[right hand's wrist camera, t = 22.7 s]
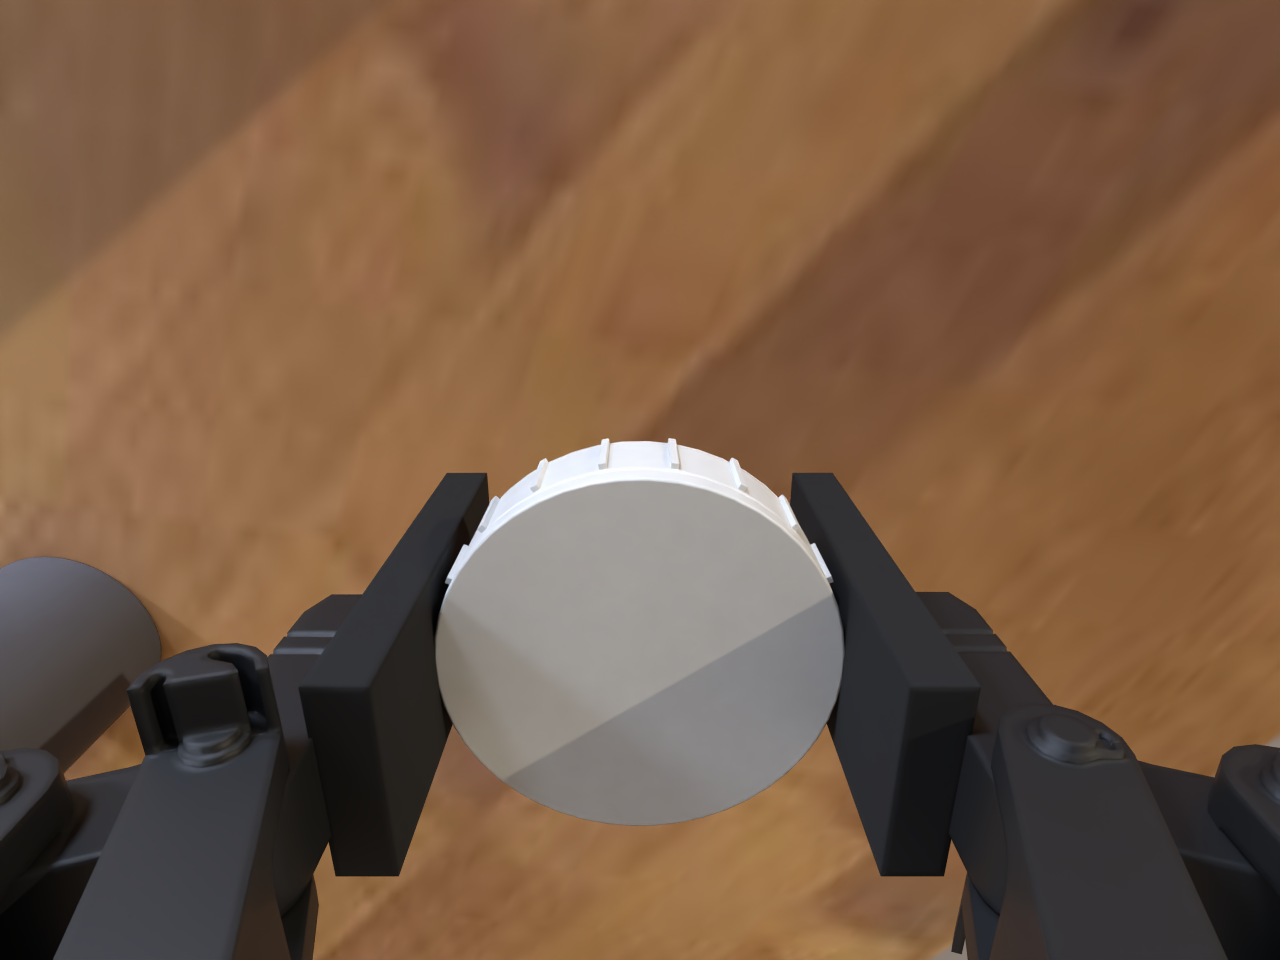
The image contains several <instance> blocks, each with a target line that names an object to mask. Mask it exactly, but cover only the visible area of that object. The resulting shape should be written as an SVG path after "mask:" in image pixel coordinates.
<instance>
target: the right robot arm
mask: <svg viewBox="0 0 1280 960" xmlns="http://www.w3.org/2000/svg"><path fill="white" fill-rule="evenodd" d="M488 506H489V494H488V481H487V473H447V474H446V475H445V477H444V478H443V479H442V481H441V482H440V484H439V485H438V487H437V488H436V489H435V491H434V492H433V494H432V495H431V497H430V498H429V500H428V501H427V502H426V504H425V505H424V507H423V508H422V510H421V511H420V513H419V514H418V515H417V517H416V518H415V520H414V521H413V523H412V524H411V525H410V527H409V528H408V530H407V531H406V533H405V534H404V536H403V537H402V538H401V540H400V541H399V543H398V544H397V546H396V547H395V549H394V550H393V551H392V553H391V554H390V556H389V557H388V559H387V560H386V561H385V563H384V564H383V566H382V567H381V569H380V570H379V572H378V573H377V574H376V576H375V577H374V579H373V580H372V582H371V583H370V584H369V586H368V587H367V589H366V590H365V592H364V593H363V595H330V596H329V597H327V598H325V599H324V600H322V601H321V602H319V603H318V604H316V605H314V606H313V607H311V608H310V609H308V610H307V611H305V612H304V613H303V614H302V615H301V617H300V618H299V619H298V620H297V621H296V623H295V624H294V625H293V626H292V628H291V629H290V630H289V631H288V633H287V637H284V638H283V639H282V640H281V641H280V643H279V644H278V645H277V646H276V648H275V649H274V653H273V654H270V655H269V656H268V657H267V655H265V654H264V653H263V652H262V651H260V650H259V649H258V648H256V647H253V646H248V645H243V644H238V643H232V644H214V645H209V646H205V647H200V648H196V649H192V650H188V651H185V652H182V653H180V654H177V655H175V656H173V657H170V658H168V659H165V660H163V661H161V662H159V663H158V664H156V665H154V666H153V667H151V668H150V669H148V670H147V671H145V672H144V673H142V674H141V675H139V676H138V677H137V679H136V680H135V681H134V682H133V683H132V684H131V685H130V687H129V688H128V689H127V690H126V691H127V695H128V698H129V701H130V705H131V708H132V711H133V715H134V718H135V722H136V725H137V728H138V732H139V735H140V738H141V742H142V745H143V748H144V752H145V758H144V760H143V762H142V764H140V765H136V766H132V767H129V768H124V769H120V770H115V771H110V772H106V773H101V774H96V775H91V776H87V777H82V778H77V779H73V780H68V781H66V780H65V777H64V774H63V771H62V768H61V766H60V763H59V760H58V758H56V757H55V756H54V755H52V754H51V753H49V752H48V751H47V750H40V749H31V748H21V749H14V750H7V751H1V752H0V960H312V959H313V950H314V942H315V933H316V924H317V915H318V906H319V904H318V897H317V890H316V885H315V880H314V876H313V873H314V871H315V869H316V867H317V865H318V863H319V861H320V859H321V856H322V854H323V852H324V850H325V848H326V846H327V844H328V842H329V845H330V850H331V855H332V860H333V866H334V871H335V876H399V874H400V871H401V868H402V865H403V863H404V860H405V857H406V854H407V851H408V848H409V846H410V843H411V840H412V837H413V834H414V832H415V829H416V826H417V823H418V820H419V817H420V815H421V812H422V809H423V806H424V803H425V800H426V798H427V795H428V792H429V789H430V786H431V783H432V781H433V778H434V775H435V772H436V769H437V767H438V764H439V761H440V758H441V755H442V752H443V750H444V747H445V744H446V741H447V738H448V735H449V733H450V730H451V727H452V724H453V723H452V721H451V719H450V717H449V715H448V712H447V710H446V708H445V706H444V703H443V699H442V696H441V693H440V689H439V684H438V676H437V667H436V658H435V632H436V627H437V621H438V615H439V612H440V609H441V606H442V603H443V600H444V597H445V594H446V591H447V589H448V587H449V584H446V583H445V581H446V579H447V576H448V574H449V572H450V571H451V569H452V567H453V565H454V563H455V561H456V559H457V557H458V555H459V553H460V551H461V549H462V547H463V545H464V544H465V545H467V546H469V544H470V542H471V540H472V538H473V537H474V535H475V533H476V531H477V529H478V527H479V525H480V523H481V520H482V518H483V516H484V514H485V512H486V510H487V508H488ZM790 507H791V509H792V511H793V513H794V515H795V517H796V519H797V521H798V523H799V525H800V527H801V529H802V530H803V532H804V534H805V536H806V537H807V539H808V541H809V543H810V545H811V544H813V543H815V544H816V546H817V548H818V550H819V552H820V554H821V556H822V558H823V560H824V562H825V564H826V566H827V568H828V570H829V572H830V574H831V576H832V579H833V582H832V583H829V584H830V587H831V589H832V592H833V594H834V597H835V600H836V602H837V605H838V607H839V612H840V616H841V621H842V625H843V630H844V644H845V653H844V663H843V671H842V680H841V686H840V690H839V694H838V698H837V701H836V703H835V705H834V708H833V710H832V713H831V715H830V718H829V720H828V722H827V725H828V728H829V731H830V734H831V737H832V740H833V742H834V745H835V748H836V751H837V754H838V757H839V759H840V762H841V765H842V768H843V771H844V773H845V776H846V779H847V782H848V785H849V788H850V790H851V793H852V796H853V799H854V802H855V805H856V807H857V810H858V813H859V816H860V819H861V822H862V824H863V827H864V830H865V833H866V836H867V838H868V841H869V844H870V847H871V850H872V853H873V855H874V858H875V861H876V864H877V867H878V870H879V872H880V875H881V876H944V873H945V868H946V863H947V858H948V853H949V848H950V843H951V839H952V841H953V843H954V845H955V847H956V849H957V852H958V854H959V856H960V858H961V860H962V862H963V864H964V866H965V868H966V870H967V876H966V880H965V885H964V890H963V894H962V899H961V904H960V909H959V913H958V918H957V923H956V927H955V932H954V938H953V944H952V952H955V953H959V954H962V950H963V946H964V941H965V940H966V948H967V957H968V960H1280V748H1276V747H1269V746H1263V745H1256V744H1255V745H1246V746H1237V747H1233V748H1232V749H1230V750H1229V751H1228V752H1226V753H1225V754H1224V755H1222V758H1221V761H1220V764H1219V767H1218V769H1217V772H1216V775H1215V778H1214V777H1209V776H1204V775H1199V774H1195V773H1190V772H1185V771H1180V770H1176V769H1171V768H1166V767H1161V766H1157V765H1152V764H1149V763H1145V762H1141V761H1138V760H1137V759H1136V756H1135V754H1134V753H1133V752H1132V750H1131V749H1130V748H1129V746H1128V745H1127V744H1126V742H1125V741H1124V739H1123V738H1122V737H1120V736H1119V735H1118V734H1116V733H1115V732H1114V731H1112V730H1111V729H1110V728H1108V727H1107V726H1106V725H1104V724H1103V723H1101V722H1099V721H1097V720H1095V719H1093V718H1091V717H1089V716H1087V715H1085V714H1082V713H1080V712H1078V711H1075V710H1071V709H1067V708H1064V707H1060V706H1056V705H1053V704H1052V703H1051V702H1050V700H1049V699H1048V698H1047V697H1046V695H1045V694H1044V693H1043V692H1042V690H1041V689H1040V688H1039V687H1038V686H1037V684H1036V683H1035V682H1034V681H1033V679H1032V678H1031V677H1030V676H1029V674H1028V673H1027V672H1026V671H1025V670H1024V668H1023V667H1022V666H1021V665H1020V663H1019V662H1018V661H1017V660H1016V658H1015V657H1014V656H1013V655H1012V654H1011V652H1007V650H1006V646H1005V645H1004V644H1003V642H1002V641H1001V640H1000V639H999V637H998V636H997V635H996V634H993V630H992V629H991V628H990V626H989V625H988V624H987V623H986V621H985V620H984V619H983V618H982V617H981V615H980V614H979V613H978V612H977V610H976V609H974V608H972V607H971V606H969V605H968V604H966V603H965V602H963V601H961V600H960V599H958V598H957V597H955V596H954V595H952V594H950V593H949V592H915V591H914V590H913V588H912V587H911V585H910V584H909V582H908V581H907V579H906V578H905V577H904V575H903V574H902V572H901V571H900V569H899V568H898V566H897V565H896V564H895V562H894V561H893V559H892V558H891V556H890V555H889V554H888V552H887V551H886V549H885V548H884V546H883V545H882V543H881V542H880V541H879V539H878V538H877V536H876V535H875V533H874V532H873V530H872V529H871V528H870V526H869V525H868V523H867V522H866V520H865V519H864V518H863V516H862V515H861V513H860V512H859V510H858V509H857V507H856V506H855V505H854V503H853V502H852V500H851V499H850V497H849V496H848V494H847V493H846V492H845V490H844V489H843V487H842V486H841V484H840V483H839V482H838V480H837V479H836V477H835V476H834V474H833V473H793V475H792V488H791V500H790Z"/></svg>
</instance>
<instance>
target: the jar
mask: <svg viewBox="0 0 1280 960" xmlns="http://www.w3.org/2000/svg"><path fill="white" fill-rule="evenodd" d="M160 660H161V644H160V638H159V635H158V632H157V629H156V626H155V624H154V622H153V620H152V618H151V616H150V615H149V613H148V611H147V610H146V608H145V607H144V606H143V605H142V603H141V602H140V601H139V600H138V599H137V598H136V597H135V596H134V595H133V594H132V593H131V592H130V591H129V590H128V589H127V588H126V587H125V586H123V585H122V584H121V583H120V582H118V581H117V580H115V579H114V578H112V577H111V576H109V575H107V574H105V573H103V572H102V571H100V570H98V569H96V568H93V567H91V566H88V565H86V564H83V563H80V562H76V561H73V560H68V559H63V558H54V557H35V558H28V559H22V560H19V561H16V562H13V563H11V564H8V565H6V566H4V567H2V568H1V569H0V752H1V751H7V750H14V749H21V748H31V749H40V750H47V751H48V752H49V753H51V754H52V755H54V756H55V757H56V758H58V760H59V763H60V766H61V768H62V771H63V774H64V773H65V772H66V771H67V770H68V769H69V768H70V767H71V766H72V764H73V763H74V762H75V761H76V760H77V759H78V758H79V757H80V756H81V755H82V754H83V753H84V752H85V751H86V750H87V749H88V748H89V747H90V746H91V745H92V744H93V743H94V742H95V741H96V740H97V739H98V738H99V737H100V736H101V735H102V734H103V733H104V732H105V731H106V730H107V729H108V728H109V727H110V726H111V725H112V724H113V723H114V722H115V721H116V720H117V719H118V718H119V717H120V716H121V715H122V714H123V713H124V711H125V710H126V709H127V708H128V707H129V706H130V701H129V698H128V695H127V691H126V690H127V689H128V688H129V687H130V685H131V684H132V683H133V682H134V681H135V680H136V679H137V677H138V676H139V675H141V674H142V673H144V672H145V671H147V670H148V669H150V668H151V667H153V666H154V665H156V664H158V663H159V662H160Z"/></svg>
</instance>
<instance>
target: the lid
mask: <svg viewBox="0 0 1280 960" xmlns="http://www.w3.org/2000/svg"><path fill="white" fill-rule="evenodd" d="M832 582H833V579H832V576H831V574H830V572H829V570H828V568H827V566H826V564H825V562H824V560H823V558H822V556H821V554H820V552H819V550H818V548H817V546H816V544H815V543H813V544H811V545H810V543H809V541H808V539H807V537H806V536H805V534H804V532H803V530H802V529H801V527H800V525H799V523H798V521H797V519H796V517H795V515H794V513H793V511H792V509H791V507H790V505H789V503H788V501H787V499H786V497H785V496H784V495H781V496H780V497H779V498H778V497H777V496H776V495H775V494H774V493H773V492H772V491H771V490H770V489H769V488H768V487H767V486H765V485H764V484H763V483H762V482H760V481H759V480H758V479H756V478H755V477H753V476H752V475H751V474H749V473H748V472H746V471H745V470H743V469H741V468H740V465H739V463H738V460H736V459H734V458H731V460H730V461H729V462H728V461H726V460H724V459H722V458H720V457H717V456H714V455H712V454H709V453H706V452H704V451H701V450H698V449H694V448H689V447H685V446H681V445H677V444H676V439H671V438H669V439H668V443H661V442H651V441H635V442H617V443H610V442H609V439H603V440H602V442H601V445H597V446H593V447H590V448H586V449H582V450H579V451H575V452H572V453H570V454H567V455H565V456H562V457H560V458H558V459H555V460H553V461H551V462H548V461H547V459H543V460H542V461H540V463H539V465H538V468H537V470H535V471H533V472H531V473H530V474H528V475H527V476H525V477H524V478H523V479H522V480H520V481H519V482H518V483H517V484H515V485H514V486H513V487H511V488H510V489H509V490H508V491H507V492H506V493H505V494H504V495H503V496H502V497H501V498H498V497H497V496H495V497H494V498H493V499H492V500H491V502H490V504H489V506H488V508H487V510H486V512H485V514H484V516H483V518H482V520H481V523H480V525H479V527H478V529H477V531H476V533H475V535H474V537H473V538H472V540H471V542H470V544H469V546H467V545H465V544H464V545H463V547H462V549H461V551H460V553H459V555H458V557H457V559H456V561H455V563H454V565H453V567H452V569H451V571H450V572H449V574H448V576H447V579H446V581H445V583H446V584H449V587H448V589H447V591H446V594H445V597H444V600H443V603H442V606H441V609H440V612H439V615H438V621H437V627H436V632H435V658H436V667H437V676H438V684H439V689H440V693H441V696H442V699H443V703H444V706H445V708H446V710H447V712H448V715H449V717H450V719H451V721H452V723H453V725H454V727H455V729H456V730H457V732H458V733H459V735H460V736H461V738H462V739H463V741H464V742H465V744H466V745H467V747H468V748H469V749H470V750H471V751H472V752H473V754H474V755H475V756H476V757H477V758H478V759H479V761H480V762H481V763H482V764H483V765H484V766H485V767H487V768H488V769H489V770H490V771H491V772H492V773H493V774H494V775H495V776H497V777H498V778H499V779H500V780H502V781H503V782H504V783H506V784H507V785H509V786H510V787H511V788H513V789H514V790H516V791H517V792H519V793H521V794H522V795H524V796H526V797H528V798H530V799H532V800H533V801H535V802H537V803H539V804H541V805H544V806H546V807H549V808H551V809H553V810H556V811H558V812H561V813H564V814H567V815H571V816H574V817H578V818H581V819H585V820H590V821H596V822H601V823H606V824H617V825H629V826H646V825H663V824H671V823H680V822H684V821H689V820H693V819H698V818H702V817H706V816H709V815H712V814H715V813H718V812H721V811H724V810H727V809H729V808H731V807H733V806H735V805H737V804H740V803H742V802H744V801H746V800H748V799H750V798H752V797H753V796H755V795H757V794H758V793H760V792H762V791H763V790H765V789H767V788H768V787H770V786H771V785H772V784H773V783H775V782H776V781H777V780H779V779H780V778H781V777H783V776H784V775H785V774H786V773H787V772H788V771H790V770H791V769H792V768H793V767H794V766H795V765H796V764H797V763H798V762H799V761H800V760H801V759H802V758H803V757H804V755H805V754H806V753H807V752H808V750H809V749H810V748H811V746H812V745H813V744H814V743H815V741H816V740H817V739H818V737H819V735H820V734H821V732H822V730H823V728H824V727H825V725H826V723H827V722H828V720H829V718H830V715H831V713H832V710H833V708H834V705H835V703H836V701H837V698H838V694H839V690H840V686H841V680H842V671H843V663H844V653H845V644H844V630H843V625H842V621H841V616H840V612H839V607H838V605H837V602H836V600H835V597H834V594H833V592H832V589H831V587H830V584H829V583H832Z"/></svg>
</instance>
